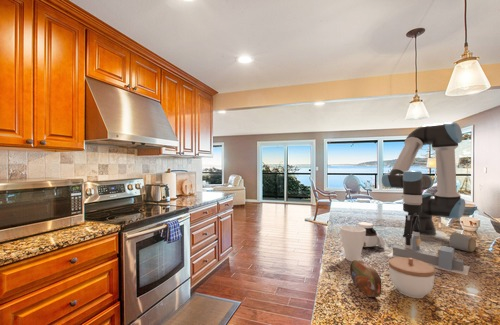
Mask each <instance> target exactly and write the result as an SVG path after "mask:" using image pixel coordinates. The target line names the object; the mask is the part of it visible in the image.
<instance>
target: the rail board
mask: <svg viewBox="0 0 500 325" xmlns="http://www.w3.org/2000/svg"><path fill="white" fill-rule="evenodd" d="M388 257H390V258H395V257H405V258H413V259H416V260H420V261H423V262H426V263H428V264H430V265H431V266H433V267H434V269H439V270H443V271H448V272H452V273H456V274H458V275H459V274H460V275H463V276H468V274H469V271H470V268H471V266H470V265H469V266H468V265H466V264H465V265H464V260H463V259H460V258H455V257H454V258H453V260H452V271H451V270H447V269H443V268H439V257H438V253H437V254H436V253H431V252H427V251H423V250H419V251H418V250H413V249H408V248H405V246H404V247H403V246H400V245H399V246H398V245H393V246H392V251H390V253H389V254H387V255H386V258H388Z"/></svg>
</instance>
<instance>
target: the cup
mask: <svg viewBox="0 0 500 325" xmlns="http://www.w3.org/2000/svg"><path fill="white" fill-rule="evenodd" d="M339 230H340V232H339V233H340V236H341V242H342V245H343V250H344V255H345V259H346V261H349V262H352V261H354V260H356V261H362V260H361V258H362V251H363V245H364V240H365V235H366V229H365V228H362V227H358V225H341V226H340V227H339Z"/></svg>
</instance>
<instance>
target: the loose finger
mask: <svg viewBox="0 0 500 325" xmlns="http://www.w3.org/2000/svg"><path fill="white" fill-rule="evenodd" d="M420 247H421V235H420V236H414V235H413V234H412V249H413V250H418V251H421V250H420V249H421V248H420Z"/></svg>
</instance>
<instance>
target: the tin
mask: <svg viewBox="0 0 500 325" xmlns="http://www.w3.org/2000/svg"><path fill="white" fill-rule="evenodd" d="M349 272H350V278H351V280H352V283H353V284H354V285H355V287H356V288H358V290H360V291H361V292H362V293H363V294H364V295H365V296H366V297H367V298H378V297H380V296H381V294H382V286H383V285H382V284H383V283H382V279H381V276H380V274H379V273H378V271H377V270H376V269H374V268H373V267H372V266H370V265H368V264H367V263H366V262H364V261H362V260H360V261H356V260H354V261H351V263H350V267H349Z"/></svg>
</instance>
